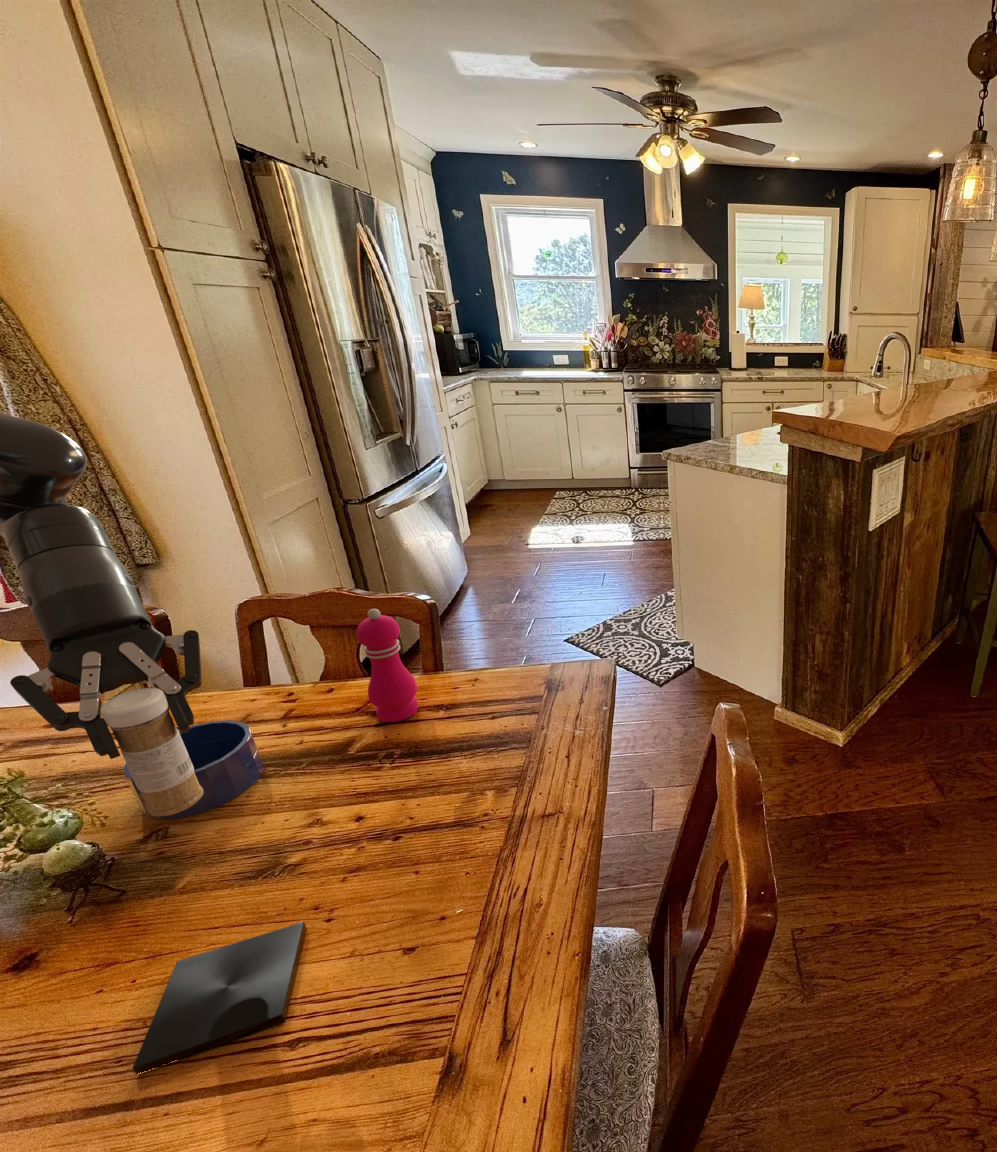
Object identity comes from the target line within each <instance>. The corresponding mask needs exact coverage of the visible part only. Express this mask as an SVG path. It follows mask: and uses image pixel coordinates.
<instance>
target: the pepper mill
mask: <svg viewBox="0 0 997 1152" xmlns="http://www.w3.org/2000/svg"><path fill="white" fill-rule="evenodd" d="M400 629H401V628H400V625H399V623H398V621H396V619H394V618H393V617H392V616H389V615H384V614H381V611H380V610H379V609H377V608H371V609H369V610H368V611H367V618H365V619H364V620H362V621H361V622H360V623H359V624H358V626H357V628H356V639H357V641H358V642H359V644H360V645H362V646H364V648H363V650H364V652H365V654H364V655H365V657H366V658H368V659H369V661H370V665H371V674H370V679H369V683H368V686H367V696H368V701H369V703H370V704H372V705H373V706H374V707H375V708H374V709H375V714H376V718H377V720H378V721H379V720H380V721H379V722H381V721H383V722H382V723H385V722H394V723H397V722H396V721H399V722H401V721H400V720H403V719H405V718H407V717H409V716H411V715H413V714H414V713H415V712H416V711H417V712H418V710H417V708H418V709H419V703H418V698H417V697H416V695H417V693H418V685H417V682H416V679H415V677H414V676H413V675H412V673H411V672H410V671H409V670H408V669H407V667H405V665H404V664H403V662H402V660H401V657H400V652H399V651H400V650H401V645H400V640H399V639H398V638H399V636H400V634H401V630H400ZM417 712H416V713H417ZM416 713H415V714H416ZM415 714H414V715H415ZM414 715H413V716H414ZM411 717H412V716H411ZM405 720H406V719H405ZM403 721H404V720H403Z"/></svg>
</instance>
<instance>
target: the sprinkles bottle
mask: <svg viewBox="0 0 997 1152" xmlns="http://www.w3.org/2000/svg"><path fill="white" fill-rule="evenodd" d="M101 714H102V718H104V720H105V723H106V725H107V726H108V728H110V730H111V731H112V733H113V735H114V738H115V740H116V741H117V744H118V747H119V750H120V752H121V753H120V754H122V758H123V759H124V761H125V764H127V766H128V769H129V771H130V773H131V775H132V777H133V779H134V781H135V784H136V786H137V788H138V789H139V790H140V792H141V794H142V796H143V798H144V800H145V802H146V805H147V810H148V812H149V813H150V814H151V815H153V816H168V815H172V814H176V813H178V812H181V811H183V810H185V809H187V808H189V807H191V806H193V805H194V804H195V803H197V801H198V800H199V799H200V798H201V797H202V795H203V792H204V791H203V788H202V787H201V786H200V785H199V782H198V780H197V778H196V775H195V772H194V767H193V765H192V762H191V760H190V757H189V755H188V753H187V750H186V748H185V745H184V743H183V740H182V738H181V736H180V733H179V731H178V730H179V729H178V728H177V725H176V723H175V721H174V720H173V719H174V718H173V716H172V714H171V712H170V709H169V705H168V702H167V699H166V697H165V695H164V693H163V691H162V690H160V689H157V688H152V687H143V688H137V689H133V690H128V691H125V692H123V693H119V694H117V695H116V696H113V697H111V698H110V699H108V700H106V702H105V701H104V704H103V705H102V707H101Z"/></svg>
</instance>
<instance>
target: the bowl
mask: <svg viewBox="0 0 997 1152" xmlns="http://www.w3.org/2000/svg"><path fill="white" fill-rule="evenodd" d="M189 729H190V731H189V732H186V733H183V734H181V733H180V731H179V729H178V731H179V733H180V736H181V738H182V740H183V743H184V745H185V748H186V750H187V753H188V755H189V757H190V760H191V762H192V765H193V767H194V772H195V775H196V778H197V780H198V782H199V785H200V786H201V787H202V788H203V791H204V792H203V795H202V797H201V798H200V799H199V800H198V801H197V803H195V804H194V805H193V806H191V807H189V808H187V809H185V810H183V811H181V812H178V813H176V814H172V815H168V816H153V815H151V814H150V813H149V812H148V810H147V805H146V802H145V800H144V798H143V796H142V794H141V792H140V790H139V789H138V788H137V786H136V784H135V781H134V779H133V777H132V775H131V773H130V771H129V769H128V766H127V764H126V763H125V765H123V775H124V777H125V779H126V782H127V784H128V786H129V789H130V790H131V792H132V794H133V796H134V799H135V801H136V802H137V805H138V807H139V809H140V811H142V812H143V814H144V815H145V816H146V817H148V818H151V819H154V820H155V819H156V820H176V819H182V818H187V817H192V816H196V815H199V814H203V813H204V812H207V811H211V810H213V809H215V808H218V807H220V806H222V805H224V804H226V803H228V802H230V801H232V800H234V799H235V798H237V797H238V796H240V795H242V794H243V793H245V792H246V791H247V790H248V789H250V788H251V787H252V786H253V785H255V783H256V782H257V781H258V780H259V778H260V777H261V775H262V773H263V771H264V763H263V760H262V757H261V754H260V751H259V748H258V746H257V743H256V740H255V738H254V735H253V733H252V729H251V727H250V726H249V724H246V723H245V722H243V721H239V720H233V719H224V720H212V721H206V722H201V723H195V724H192V725H190V726H189Z"/></svg>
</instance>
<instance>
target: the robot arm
mask: <svg viewBox="0 0 997 1152" xmlns="http://www.w3.org/2000/svg"><path fill="white" fill-rule="evenodd" d="M87 466H88V458H87V455H86V452H85V451H84V450H83V448H82V447H81V445H79V444H78V443H77V442H76V441H75V440H73V439H71V437H69V436H67V435H66V434H64V433H63V432H61V431H59V430H57V429H55V428H53V427H50V426H49V425H46V424H43V423H41V422H40V423H39V422H37V421H34V420H30V419H27V418H22V417H19V416H13V415H10V414H5V413H1V412H0V536H1V537H2V538H3V539H4V540H5V543H6V546H7V548H8V551H9V554H10V556H11V558H12V561H13V562H14V564H15V567H16V570H17V572H18V574H19V578H20V583H21V588H22V591H23V595H24V597H25V603H26V605H27V607H28V608H30V611H31V613H32V615H33V617H34V620H35V621H36V622H35V623H36V625H37V627H38V629H39V631H40V633H41V636H42V638H43V640H44V642H45V645H46V647H47V650H48V653H49V659H48V661H47V665H46V666H47V667H45V668H43V669H41V670H38V671H36V672H34V673H31V674H29V675H25V674H24V675H22V674H20V675H16V676H14V677H12V678H11V680H10V681H9V684H10V685H11V687H12V688H13V689H14V691H15V692H16V693H17V694H18V696H20V697H21V698H22V699H23V700H24V701H25V702H26V703H27V704H28V705H29V706H30V707H31V708H32V709H33V710H34V711H36V712H37V713H38V714H39V715H40V716H41V718H43V719H44V720H45V721H46V722H47V723H48V724H49V725H50V726H51V727H52V728H53V729H55V730H56V731H57V732H66V731H69V730H70V729H71V730H72V729H83V730H85V733H86V735H87V737H88V739H89V741H90V743H91V746H92V748H93V751H94V752H95V754H97V755H98V756H100V757H104V756H107V755H108V757H109V759H110V760H113V759H116V758H118V757H121V753H120V750H119V749H118V746H117V744H116V742H115V739H114V737H113V735H112V733H111V731H110V730H111V729H109V728H110V727H109V726H107V725H106V723H105V720H104V718H103V716H102V714H101V707H102V705H103V704H104V703H105V693H108V692H111V691H114V690H117V689H119V688H120V687H123V686H126V685H133V684H138V683H142V682H145V683H146V684H148V685H149V686H150V688H157V689H160V690H162V691H163V693H164V695H165V697H166V699H167V702H168V705H169V712H170V714H171V717H172V719H174V720H173V721H174V723H175V725H176V727H177V729H178V730H179V731H180V733H181V734H183V733H186V732H189V731H190V729H189V726H193V725H195V716H194V713H193V711H192V708H191V706H190V704H189V702H188V700H187V698H186V696H187V695H188V693H190V692H191V691H193V690H197V689H199V688H200V687H201V686H202V685H203V680H202V679H203V678H202V662H201V661H202V658H201V657H202V656H201V642H200V635H199V632H198V631H197V630H193V629H190V630H186V631H184V633H183V634H176V635H164V633H162V632H160V631H158V630H157V629H156V628H155V627H154V626H153V624H152V621H151V620H150V617H149V615H148V613H147V611H146V608H145V606H144V604H143V601H142V600H141V598H140V596H139V593H138V592H137V589H136V587H135V582H134V580H133V579H132V577H131V576H130V574H129V572H128V571H127V568H126V567H125V565H124V564H123V563H122V561H121V560H120V559H119V557H118V555H117V554H116V551H115V550H114V547H113V545H112V543H111V541H110V539H109V536H108V533H107V532H106V531H105V528H104V527H103V525H102V523H101V521H100V519H98V517H97V516H96V515H95V514H94V513H93V512H91V511H89V510H88V509H86V508H83V507H81V506H78V505H75V504H74V505H73V504H69V503H68V500H67V495H68V494H69V493H70V491H71V490H72V489H73V487H74V486H75V485H76V483H77V482H78V481H79V479H80V478H81V477H82V475H83V474H84V472H85V471H86V468H87ZM167 648H171V649H172V650H174V653H175V654H176V655H177V656H182V657H183V659H184V661H183V663H184V676H183V677H180V679H179V678H178V680H175V679H174V678H173V677H171V676H170V675H169V674H168V673H167V672H166V670H164V669H163V667H161V666H160V665H159V662H160V660H161V658H162V657H163V654H164V653H165V650H166V649H167ZM56 678H57V679H59V680H62V681H65V682H67V683H69V684H72V685H75V686H77V687H79V708H78V711H65V710H64V708H62V707H60V706H59V704H58V703H56V701H54V700H53V699H52V697H50V696H49V694H50V693H52V691H53V689H54V687H53V685H52V681H53V680H54V679H56Z"/></svg>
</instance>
